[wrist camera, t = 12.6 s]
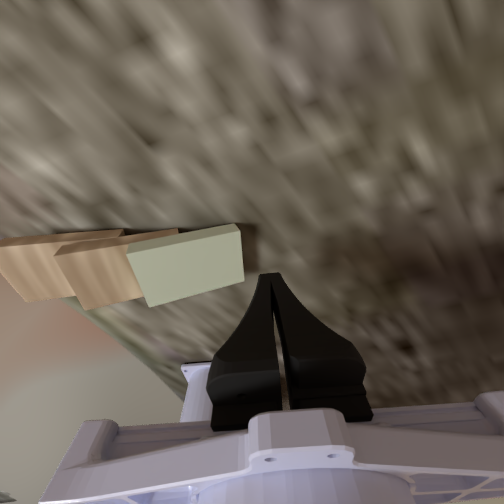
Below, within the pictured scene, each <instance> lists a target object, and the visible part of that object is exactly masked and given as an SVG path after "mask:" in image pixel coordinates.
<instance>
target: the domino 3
mask: <svg viewBox="0 0 504 504" xmlns="http://www.w3.org/2000/svg"><path fill="white" fill-rule="evenodd" d="M126 256H127V258H128V260H129V262H130V265H131V267H132V269H133V272H134V274H135V276H136V279H137V281H138V283H139V285H140V288H141V290H142V292H143V295H144V297H145V299H146V302H147V304H148V306H149V307H153V306H156V305H160V304H164V303H167V302H171V301H174V300H178V299H182V298H185V297H189V296H192V295H196V294H200V293H203V292H207V291H210V290H214V289H217V288H221V287H225V286H228V285H232V284H235V283H239V282H243V281H244V270H243V258H242V246H241V234H240V230H239V229H238V227H237V226H236V225H235V224H234V223H233V224H228V225H223V226H217V227H212V228H207V229H202V230H197V231H192V232H186V233H181V234H176V235H171V236H166V237H160V238H155V239H150V240H145V241H140V242H134V243H129V245H128V249H127V252H126Z"/></svg>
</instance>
